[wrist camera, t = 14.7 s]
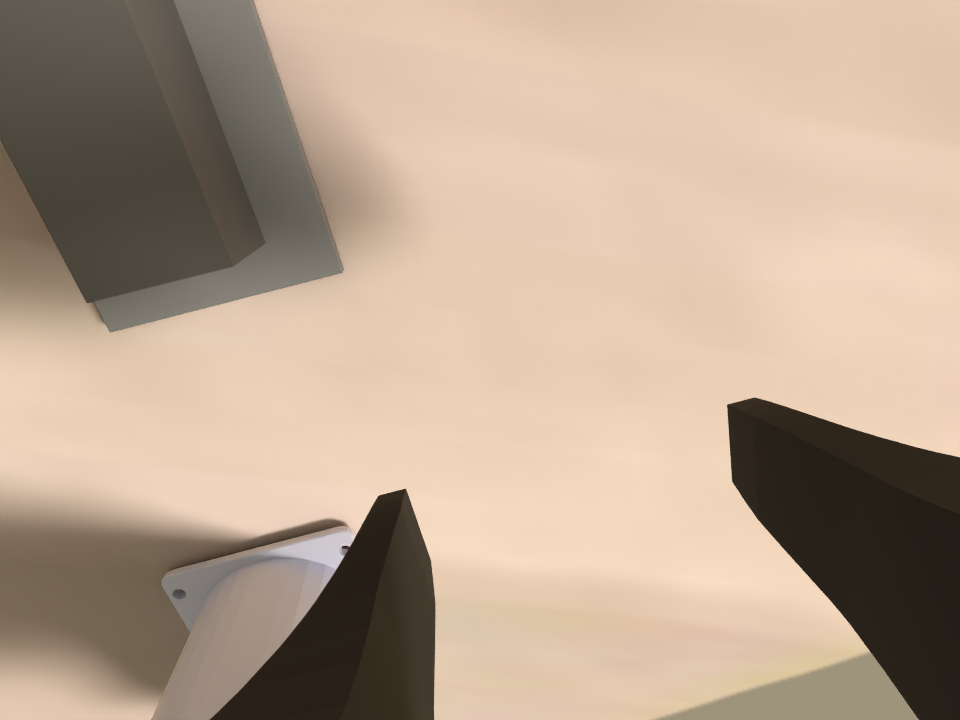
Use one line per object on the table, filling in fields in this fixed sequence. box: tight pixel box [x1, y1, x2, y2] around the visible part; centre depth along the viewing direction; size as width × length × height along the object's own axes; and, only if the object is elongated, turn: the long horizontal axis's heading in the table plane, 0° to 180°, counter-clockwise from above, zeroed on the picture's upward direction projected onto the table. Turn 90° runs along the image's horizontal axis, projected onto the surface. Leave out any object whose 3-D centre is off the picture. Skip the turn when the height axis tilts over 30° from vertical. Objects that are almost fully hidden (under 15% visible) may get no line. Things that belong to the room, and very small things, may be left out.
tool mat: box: [94, 0, 344, 332], centre depth 17 cm, size 12×8×1 cm, turn 13°
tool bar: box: [0, 0, 266, 303], centre depth 14 cm, size 11×4×4 cm, turn 13°
